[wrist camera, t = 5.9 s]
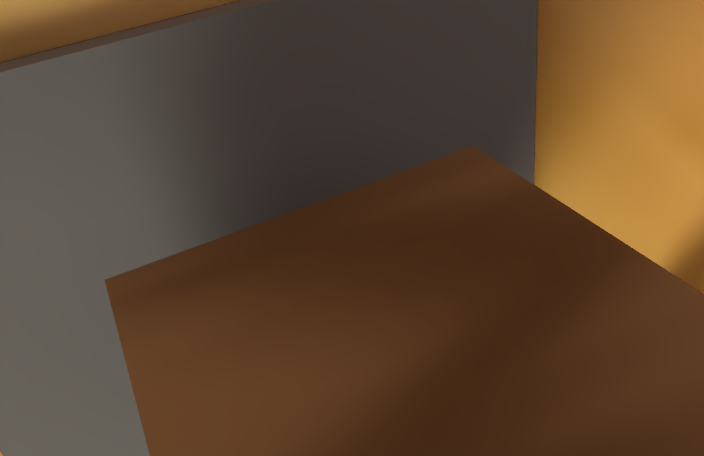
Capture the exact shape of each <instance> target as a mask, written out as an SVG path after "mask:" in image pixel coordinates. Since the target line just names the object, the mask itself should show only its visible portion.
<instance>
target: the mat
mask: <svg viewBox="0 0 704 456" xmlns="http://www.w3.org/2000/svg"><path fill="white" fill-rule="evenodd" d="M537 29H538V0H240V1H237V2H233V3H229V4H225V5H221V6H217V7H213V8H210V9H206V10H202V11H198V12H194V13H190V14H187V15H183V16H179V17H175V18H171V19H167V20H164V21H160V22H156V23H152V24H148V25H144V26H140V27H137V28H133V29H129V30H125V31H121V32H117V33H114V34H110V35H106V36H102V37H98V38H94V39H91V40H87V41H83V42H79V43H75V44H71V45H67V46H64V47H60V48H56V49H52V50H48V51H44V52H41V53H37V54H33V55H29V56H25V57H21V58H18V59H14V60H10V61H6V62H2V63H0V452H1V453H2V454H3V456H150V454H149V450H148V447H147V443H146V439H145V435H144V431H143V427H142V423H141V419H140V416H139V412H138V408H137V404H136V400H135V396H134V392H133V388H132V385H131V381H130V377H129V373H128V369H127V365H126V361H125V357H124V354H123V350H122V346H121V342H120V338H119V334H118V330H117V326H116V323H115V319H114V315H113V311H112V307H111V303H110V299H109V295H108V292H107V288H106V284H105V279H108V278H111V277H113V276H116V275H119V274H122V273H124V272H127V271H130V270H133V269H135V268H138V267H141V266H144V265H146V264H149V263H152V262H155V261H157V260H160V259H163V258H166V257H168V256H171V255H174V254H177V253H179V252H182V251H185V250H188V249H190V248H193V247H196V246H199V245H201V244H204V243H207V242H210V241H212V240H215V239H218V238H221V237H223V236H226V235H229V234H232V233H234V232H237V231H240V230H243V229H245V228H248V227H251V226H254V225H256V224H259V223H262V222H265V221H268V220H270V219H273V218H276V217H279V216H281V215H284V214H287V213H290V212H292V211H295V210H298V209H301V208H303V207H306V206H309V205H312V204H314V203H317V202H320V201H323V200H325V199H328V198H331V197H334V196H336V195H339V194H342V193H345V192H347V191H350V190H353V189H356V188H358V187H361V186H364V185H367V184H369V183H372V182H375V181H378V180H380V179H383V178H386V177H389V176H391V175H394V174H397V173H400V172H402V171H405V170H408V169H411V168H413V167H416V166H419V165H422V164H424V163H427V162H430V161H433V160H435V159H438V158H441V157H444V156H446V155H449V154H452V153H455V152H457V151H460V150H463V149H466V148H468V147H471V146H475V147H476V148H478V149H479V150H481V151H482V152H484V153H485V154H487V155H489V156H490V157H492V158H493V159H495V160H496V161H498V162H499V163H501V164H502V165H504V166H506V167H507V168H509V169H510V170H512V171H513V172H515V173H516V174H518V175H520V176H521V177H523V178H524V179H526V180H527V181H529V182H530V183H532V184H533V185H534V161H535V117H536V73H537Z"/></svg>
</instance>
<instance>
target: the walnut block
mask: <svg viewBox="0 0 704 456" xmlns="http://www.w3.org/2000/svg"><path fill="white" fill-rule="evenodd" d="M105 284H106V288H107V292H108V295H109V299H110V303H111V307H112V311H113V315H114V319H115V323H116V326H117V330H118V334H119V338H120V342H121V346H122V350H123V354H124V357H125V361H126V365H127V369H128V373H129V377H130V381H131V385H132V388H133V392H134V396H135V400H136V404H137V408H138V412H139V416H140V419H141V423H142V427H143V431H144V435H145V439H146V443H147V447H148V450H149V454H150V456H704V294H702V293H701V292H699V291H698V290H696V289H695V288H693V287H692V286H690V285H689V284H687V283H685V282H684V281H682V280H681V279H679V278H678V277H676V276H675V275H673V274H671V273H670V272H668V271H667V270H665V269H664V268H662V267H661V266H659V265H658V264H656V263H654V262H653V261H651V260H650V259H648V258H647V257H645V256H644V255H642V254H640V253H639V252H637V251H636V250H634V249H633V248H631V247H630V246H628V245H627V244H625V243H623V242H622V241H620V240H619V239H617V238H616V237H614V236H613V235H611V234H609V233H608V232H606V231H605V230H603V229H602V228H600V227H599V226H597V225H596V224H594V223H592V222H591V221H589V220H588V219H586V218H585V217H583V216H582V215H580V214H578V213H577V212H575V211H574V210H572V209H571V208H569V207H568V206H566V205H565V204H563V203H561V202H560V201H558V200H557V199H555V198H554V197H552V196H551V195H549V194H547V193H546V192H544V191H543V190H541V189H540V188H538V187H537V186H535V185H533V184H532V183H530V182H529V181H527V180H526V179H524V178H523V177H521V176H520V175H518V174H516V173H515V172H513V171H512V170H510V169H509V168H507V167H506V166H504V165H502V164H501V163H499V162H498V161H496V160H495V159H493V158H492V157H490V156H489V155H487V154H485V153H484V152H482V151H481V150H479V149H478V148H476V147H475V146H471V147H468V148H466V149H463V150H460V151H457V152H455V153H452V154H449V155H446V156H444V157H441V158H438V159H435V160H433V161H430V162H427V163H424V164H422V165H419V166H416V167H413V168H411V169H408V170H405V171H402V172H400V173H397V174H394V175H391V176H389V177H386V178H383V179H380V180H378V181H375V182H372V183H369V184H367V185H364V186H361V187H358V188H356V189H353V190H350V191H347V192H345V193H342V194H339V195H336V196H334V197H331V198H328V199H325V200H323V201H320V202H317V203H314V204H312V205H309V206H306V207H303V208H301V209H298V210H295V211H292V212H290V213H287V214H284V215H281V216H279V217H276V218H273V219H270V220H268V221H265V222H262V223H259V224H256V225H254V226H251V227H248V228H245V229H243V230H240V231H237V232H234V233H232V234H229V235H226V236H223V237H221V238H218V239H215V240H212V241H210V242H207V243H204V244H201V245H199V246H196V247H193V248H190V249H188V250H185V251H182V252H179V253H177V254H174V255H171V256H168V257H166V258H163V259H160V260H157V261H155V262H152V263H149V264H146V265H144V266H141V267H138V268H135V269H133V270H130V271H127V272H124V273H122V274H119V275H116V276H113V277H111V278H108V279H105Z"/></svg>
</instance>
